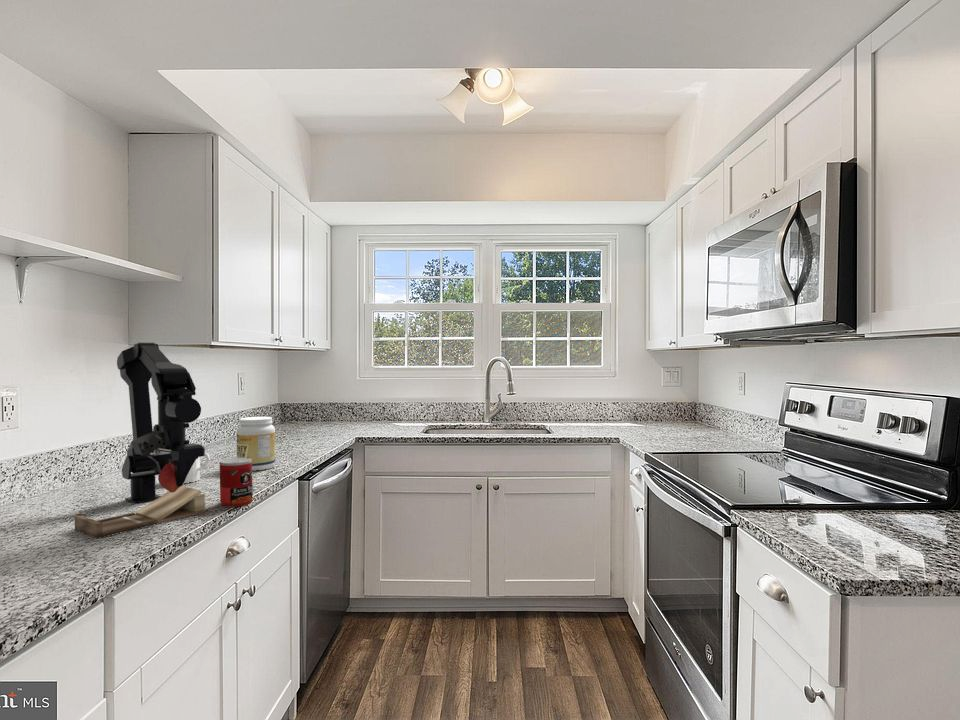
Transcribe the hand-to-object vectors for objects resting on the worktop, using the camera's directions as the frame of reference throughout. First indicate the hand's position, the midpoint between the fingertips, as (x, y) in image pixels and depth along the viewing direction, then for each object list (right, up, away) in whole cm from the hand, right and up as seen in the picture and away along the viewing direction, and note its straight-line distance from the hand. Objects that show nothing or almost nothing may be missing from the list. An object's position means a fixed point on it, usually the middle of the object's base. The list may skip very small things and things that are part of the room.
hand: (172, 484), depth 136 cm
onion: (0, -2, 0) cm, 2 cm away
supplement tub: (-2, -7, +56) cm, 56 cm away
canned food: (+11, -7, +9) cm, 16 cm away
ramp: (0, -7, -1) cm, 7 cm away
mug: (-14, -7, +36) cm, 39 cm away
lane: (-4, -7, -6) cm, 10 cm away
